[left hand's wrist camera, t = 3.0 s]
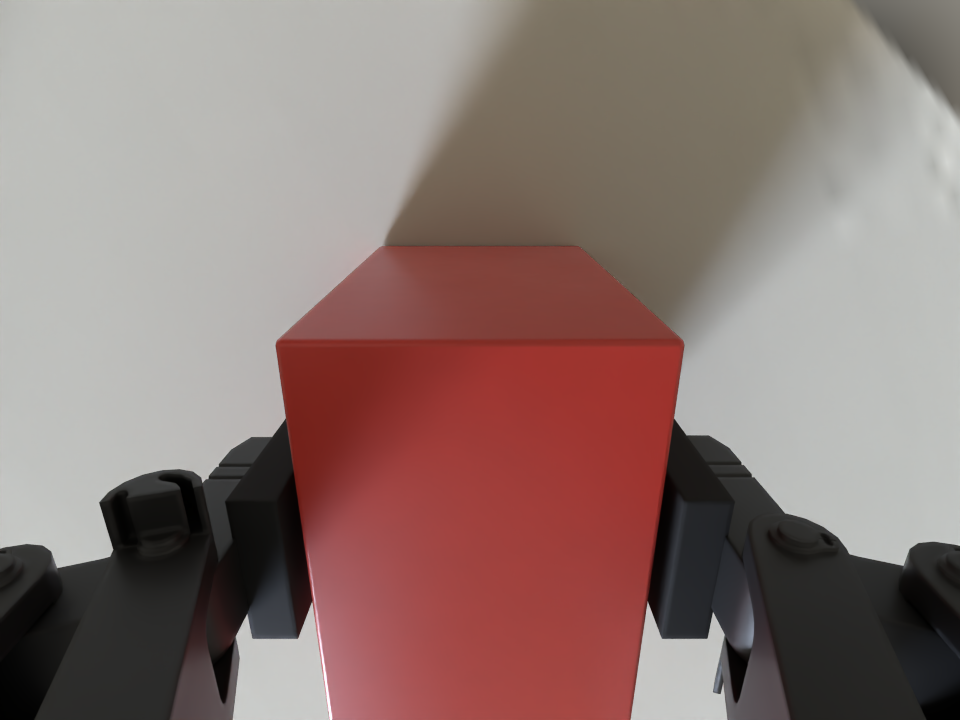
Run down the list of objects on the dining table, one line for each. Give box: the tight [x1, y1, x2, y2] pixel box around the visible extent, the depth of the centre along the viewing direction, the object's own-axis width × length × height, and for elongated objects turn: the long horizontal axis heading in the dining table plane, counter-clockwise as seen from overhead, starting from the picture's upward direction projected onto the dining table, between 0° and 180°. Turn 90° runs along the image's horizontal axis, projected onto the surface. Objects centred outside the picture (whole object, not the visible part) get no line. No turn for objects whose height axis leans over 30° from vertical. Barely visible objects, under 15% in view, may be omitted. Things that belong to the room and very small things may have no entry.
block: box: [276, 246, 684, 720], centre depth 12 cm, size 6×8×8 cm
